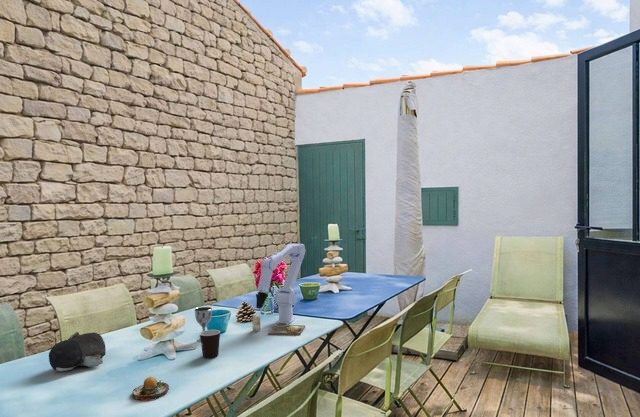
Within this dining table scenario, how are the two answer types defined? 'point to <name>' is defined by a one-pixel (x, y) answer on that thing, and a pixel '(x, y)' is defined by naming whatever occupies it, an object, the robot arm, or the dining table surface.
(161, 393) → the brimmed hat
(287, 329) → the plate
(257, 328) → the planet hub
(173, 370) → the dining table surface
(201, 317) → the wine glass
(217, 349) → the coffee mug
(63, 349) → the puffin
